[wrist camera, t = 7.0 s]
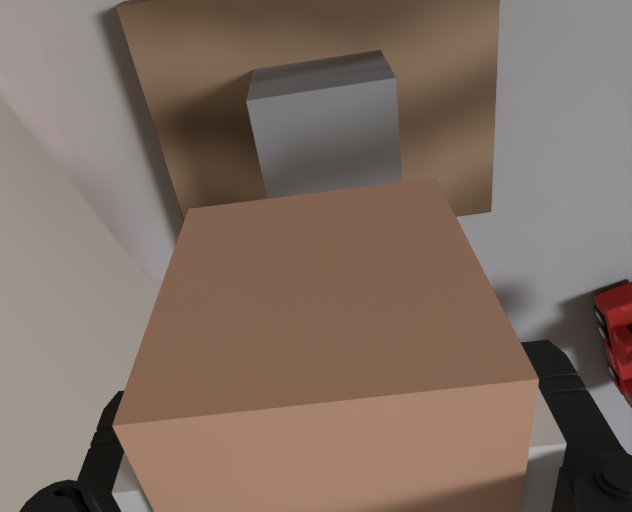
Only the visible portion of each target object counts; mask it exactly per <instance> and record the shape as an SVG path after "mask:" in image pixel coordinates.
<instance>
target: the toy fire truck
mask: <svg viewBox="0 0 632 512" xmlns="http://www.w3.org/2000/svg"><path fill="white" fill-rule="evenodd" d="M594 302H595V305H596V306H597V307H595V308H594V312H595V315H596V317H597V319H598V321H599V322H600V323H599V324H598V330H599V332H600V334H601V336H602V338H603V341H604V346H605V350H606V355H607V359H608V362H609V363H608V364H607V367H608V370H609V372H610V374H611V376H612V379H613V382H614V383H615V385H616V387H617V388H618V390H619V391H620V393H621V394H622V395H624V398H625V400H626V401H627V403H628V404H629V405H630V406H631V408H632V282H630V283H627V284H624V285H622V286H619V287H616V288H614V289H611V290H608V291H605V292H603V293H600V294H597V295H595V296H594Z"/></svg>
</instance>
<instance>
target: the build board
mask: <svg viewBox="0 0 632 512" xmlns="http://www.w3.org/2000/svg"><path fill="white" fill-rule="evenodd" d="M499 5H500V0H130V1H124V2H122V3H121V4H119V5H118V6H116V9H117V12H118V15H119V18H120V21H121V25H122V28H123V31H124V34H125V37H126V40H127V43H128V46H129V50H130V53H131V56H132V59H133V62H134V65H135V68H136V71H137V74H138V78H139V81H140V84H141V87H142V90H143V93H144V96H145V99H146V103H147V106H148V109H149V112H150V115H151V118H152V121H153V124H154V128H155V131H156V134H157V137H158V140H159V143H160V146H161V149H162V152H163V156H164V159H165V162H166V165H167V168H168V171H169V174H170V177H171V181H172V184H173V187H174V190H175V193H176V196H177V199H178V202H179V206H180V209H181V212H182V215H183V218H184V220H185V217H186V215H187V212H188V209H192V208H200V207H208V206H216V205H224V204H232V203H240V202H248V201H255V200H263V199H271V198H279V197H287V196H295V195H303V194H311V193H319V192H327V191H335V190H343V189H351V188H359V187H367V186H375V185H383V184H391V183H399V182H407V181H415V180H423V179H431V178H436V180H437V182H438V184H439V185H440V187H441V189H442V191H443V193H444V195H445V197H446V199H447V201H448V203H449V205H450V207H451V209H452V211H453V213H454V215H455V217H457V216H465V215H472V214H479V213H486V212H491V203H492V178H493V153H494V128H495V104H496V79H497V54H498V29H499Z"/></svg>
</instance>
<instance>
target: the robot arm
mask: <svg viewBox="0 0 632 512" xmlns="http://www.w3.org/2000/svg"><path fill="white" fill-rule="evenodd" d="M521 345H522V347H523V349H524V351H525V353H526V354H527V356H528V358H529V360H530V362H531V364H532V366H533V368H534V370H535V372H536V374H537V376H538V378H539V384H538V391H537V398H536V405H535V412H534V419H533V426H532V433H531V440H530V448H529V455H528V462H527V469H526V476H525V483H524V490H523V497H522V505H521V512H632V455H630V454H627V452H626V451H625V450H624V449H623V447H622V446H621V445H620V443H619V441H618V440H617V438H616V436H615V435H614V433H613V431H612V430H611V428H610V426H609V425H608V423H607V421H606V420H605V418H604V416H603V415H602V413H601V411H600V410H599V408H598V406H597V405H596V403H595V401H594V400H593V398H592V397H591V395H590V393H589V392H588V391H586V387H585V385H584V383H583V382H582V380H581V378H580V377H579V376H577V372H576V370H575V368H574V367H573V365H572V363H571V362H570V360H569V358H568V357H567V355H566V354H565V353H564V352H562V351H561V350H560V349H559V348H557V347H556V346H555V345H554V344H552V343H551V342H550V341H549V340H540V341H532V342H523V343H521ZM123 394H124V391H118V393H117V394H116V395H115V396H114V397H113V399H112V400H111V401H110V402H109V403H108V405H107V406H106V407H105V408H104V410H103V412H102V415H101V418H100V420H99V423H98V426H97V432H95V434H94V436H93V440H92V442H91V444H90V445H91V448H90V449H89V450H88V452H87V455H86V458H85V460H84V463H83V466H82V469H81V471H80V474H79V476H78V479H77V481H73V480H65V481H60V482H56V483H53V484H51V485H49V486H47V487H46V488H43V489H41V490H40V491H38V492H37V493H36V494H35V495H34V496H33V497H31V498H30V499H29V500H28V501H27V502H26V503H25V505H24V506H23V507H22V509H21V510H20V512H154V511H153V509H152V507H151V504H150V502H149V500H148V498H147V496H146V494H145V492H144V490H143V488H142V486H141V484H140V482H139V480H138V478H137V476H136V474H135V472H134V470H133V468H132V466H131V464H130V462H129V460H128V457H127V455H126V453H125V451H124V449H123V447H122V445H121V443H120V441H119V439H118V437H117V435H116V433H115V431H114V429H113V427H112V425H113V422H114V419H115V416H116V413H117V411H118V408H119V405H120V402H121V399H122V396H123Z"/></svg>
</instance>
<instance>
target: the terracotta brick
mask: <svg viewBox="0 0 632 512" xmlns="http://www.w3.org/2000/svg"><path fill="white" fill-rule="evenodd" d="M538 384H539V378H538V376H537V374H536V372H535V370H534V368H533V366H532V364H531V362H530V360H529V358H528V356H527V354H526V353H525V351H524V349H523V347H522V345H521V343H520V341H519V339H518V337H517V335H516V333H515V331H514V329H513V327H512V325H511V323H510V321H509V320H508V318H507V316H506V314H505V312H504V310H503V308H502V306H501V304H500V302H499V300H498V298H497V296H496V294H495V292H494V290H493V288H492V286H491V285H490V283H489V281H488V279H487V277H486V275H485V273H484V271H483V269H482V267H481V265H480V263H479V261H478V259H477V257H476V255H475V253H474V252H473V250H472V248H471V246H470V244H469V242H468V240H467V238H466V236H465V234H464V232H463V230H462V228H461V226H460V224H459V222H458V220H457V219H456V217H455V215H454V213H453V211H452V209H451V207H450V205H449V203H448V201H447V199H446V197H445V195H444V193H443V191H442V189H441V187H440V185H439V184H438V182H437V180H436V178H431V179H423V180H415V181H407V182H399V183H391V184H383V185H375V186H367V187H359V188H351V189H343V190H335V191H327V192H319V193H311V194H303V195H295V196H287V197H279V198H271V199H263V200H255V201H248V202H240V203H232V204H224V205H216V206H208V207H200V208H192V209H188V212H187V215H186V217H185V220H184V223H183V226H182V229H181V232H180V234H179V237H178V240H177V243H176V246H175V249H174V252H173V254H172V257H171V260H170V263H169V266H168V269H167V271H166V274H165V277H164V280H163V283H162V286H161V288H160V291H159V294H158V297H157V300H156V303H155V305H154V308H153V311H152V314H151V317H150V320H149V323H148V326H147V328H146V331H145V334H144V337H143V340H142V343H141V345H140V348H139V351H138V354H137V357H136V359H135V362H134V365H133V368H132V371H131V374H130V376H129V379H128V382H127V385H126V388H125V391H124V394H123V396H122V399H121V402H120V405H119V408H118V411H117V413H116V416H115V419H114V422H113V425H112V427H113V429H114V431H115V433H116V435H117V437H118V439H119V441H120V443H121V445H122V447H123V449H124V451H125V453H126V455H127V457H128V460H129V462H130V464H131V466H132V468H133V470H134V472H135V474H136V476H137V478H138V480H139V482H140V484H141V486H142V488H143V490H144V492H145V494H146V496H147V498H148V500H149V502H150V504H151V507H152V509H153V511H154V512H521V505H522V497H523V490H524V483H525V476H526V469H527V462H528V455H529V448H530V440H531V433H532V426H533V419H534V412H535V405H536V398H537V391H538Z"/></svg>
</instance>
